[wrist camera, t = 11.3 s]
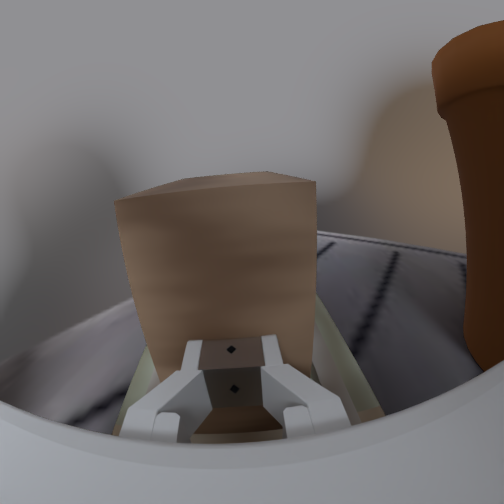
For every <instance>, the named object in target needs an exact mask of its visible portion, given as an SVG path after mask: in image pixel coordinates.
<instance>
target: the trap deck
mask: <svg viewBox="0 0 504 504" xmlns="http://www.w3.org/2000/svg"><path fill="white" fill-rule="evenodd" d="M310 379H311V380H313V381H315V382H316V383H318V384H319V385H321V386H322V387H324V388H325V389H327V390H329V391H330V392H332V393H333V394H335V395H337V396H338V397H340V399H341V402H342V404H343V406H344V409H345V411H346V414H347V416H348V419H349V421H350V424H351V426H353V425H357V424H361V423H364V422H368V421H371V420H374V419H378V418H381V417H384V416H386V415H385V413H384V412H383V410H382V408H381V406H380V404H379V402H378V400H377V398H376V397H375V395H374V393H373V391H372V389H371V387H370V385H369V384H368V382H367V380H366V378H365V376H364V375H363V373H362V371H361V369H360V367H359V366H358V364H357V362H356V360H355V358H354V357H353V355H352V353H351V351H350V350H349V348H348V346H347V344H346V343H345V341H344V339H343V337H342V336H341V334H340V332H339V330H338V329H337V327H336V325H335V323H334V322H333V320H332V318H331V317H330V315H329V313H328V312H327V310H326V308H325V306H324V305H323V303H322V301H321V300H320V298H319V296H318V295H317V293H316V301H315V322H314V339H313V353H312V365H311V377H310ZM160 383H161V382H160V380H159V377H158V375H157V372H156V369H155V366H154V364H153V361H152V358H151V355H150V352H149V349H148V346H147V345H146V347H145V350H144V352H143V354H142V357H141V359H140V362H139V364H138V366H137V369H136V371H135V374H134V376H133V379H132V381H131V384H130V386H129V389H128V391H127V394H126V397H125V399H124V402H123V405H122V407H121V410H120V413H119V415H118V418H117V421H116V424H115V426H114V429H113V432H112V435H114V436H119V434H120V431H121V428H122V425H123V422H124V419H125V416H126V413H127V410H128V408H129V407H131V406H132V405H133V404H134V403H136V402H137V401H138V400H140V399H141V398H142V397H144V396H145V395H146V394H147V393H149V392H150V391H151V390H153V389H154V388H155V387H156V386H158V385H159V384H160ZM282 432H283V429H278V430H269V431H259V432H247V433H228V434H193V435H192V436H191V437H190V440H191V442H192V443H193V444H227V443H247V442H260V441H270V440H279V439H282Z"/></svg>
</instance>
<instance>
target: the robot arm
mask: <svg viewBox="0 0 504 504" xmlns="http://www.w3.org/2000/svg"><path fill="white" fill-rule="evenodd" d="M258 405H263V407H264V408H265V409H266V410H267V411H268V412H269V413H270V414H271V415H272V416H273V417H274V418H275V419H276V420H277V421H278V422H279V423H280V424H281V425H282V426H283V432H282V439H279V440H270V441H260V442H247V443H227V444H193V443H192V442H191V440H190V437H191V436H192V435H193V433H194V432H195V431H196V430H197V428H198V427H199V426H200V425H201V423H202V422H203V421H204V420H205V418H206V417H207V416H208V415H209V413H210V412H211V411H212V408H225V407H239V406H258ZM0 504H504V360H503V361H502V362H500V363H498V364H497V365H495V366H494V367H492V368H490V369H489V370H487V371H485V372H484V373H482V374H480V375H478V376H477V377H475V378H473V379H471V380H469V381H467V382H465V383H464V384H462V385H460V386H458V387H456V388H454V389H452V390H450V391H447V392H445V393H443V394H441V395H439V396H437V397H434V398H432V399H430V400H427V401H425V402H422V403H420V404H417V405H415V406H412V407H410V408H407V409H404V410H402V411H399V412H396V413H393V414H390V415H387V416H384V417H381V418H378V419H374V420H371V421H368V422H364V423H361V424H357V425H353V426H351V424H350V421H349V419H348V416H347V414H346V411H345V409H344V406H343V404H342V402H341V399H340V397H338V396H337V395H335V394H333V393H332V392H330V391H329V390H327V389H325V388H324V387H322V386H321V385H319V384H318V383H316V382H315V381H313V380H311V379H310V378H308V377H307V376H305V375H304V374H302V373H301V372H299V371H298V370H296V369H295V368H293V367H292V366H291V365H289V364H283V360H282V356H281V352H280V348H279V343H278V339H277V335H276V334H272V335H264V336H259V337H249V338H237V339H210V340H189V341H188V342H187V345H186V349H185V353H184V357H183V362H182V366H181V371H175V372H174V373H173V374H172V375H170V376H169V377H168V378H167V379H165V380H164V381H163V382H161V383H160V384H159V385H158V386H156V387H155V388H154V389H153V390H151V391H150V392H149V393H147V394H146V395H145V396H144V397H142V398H141V399H140V400H138V401H137V402H136V403H134V404H133V405H132V406H131V407H129V408H128V410H127V413H126V416H125V419H124V422H123V425H122V428H121V431H120V434H119V436H114V435H109V434H104V433H99V432H94V431H90V430H85V429H81V428H77V427H73V426H70V425H66V424H63V423H59V422H56V421H53V420H50V419H47V418H44V417H41V416H38V415H35V414H32V413H29V412H27V411H24V410H22V409H19V408H17V407H14V406H12V405H10V404H7V403H5V402H3V401H1V400H0Z"/></svg>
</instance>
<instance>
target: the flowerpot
mask: <svg viewBox="0 0 504 504" xmlns="http://www.w3.org/2000/svg"><path fill="white" fill-rule="evenodd" d="M432 77H433V83H434V89H435V96H436V102H437V111H438V113H439V115H440V116H441V118H443V119H444V120H446V122H447V125H448V129H449V133H450V136H451V140H452V144H453V149H454V153H455V158H456V162H457V167H458V173H459V178H460V185H461V191H462V199H463V206H464V217H465V229H466V247H467V283H466V302H465V314H464V324H463V331H464V338H465V341H466V344H467V347H468V349H469V351H470V353H471V354H472V356H473V358H474V359H475V361H476V362H477V363H478V365H479V366H480V367H481V368H482V370H483V371H484V372H485V371H487V370H489V369H490V368H492V367H494V366H495V365H497V364H498V363H500V362H502V361H503V360H504V20H503V21H498V22H493V23H489V24H485V25H481V26H478V27H475V28H473V29H471V30H469V31H467V32H465V33H463V34H461V35H459V36H457V37H455V38H453V39H452V40H451V41H449V43H447V44H446V45H445V46H444V47H442V48H441V49H440V50H439V51H438V53H437V54H436V56H435V58H434V60H433V61H432Z"/></svg>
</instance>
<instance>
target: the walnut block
mask: <svg viewBox="0 0 504 504" xmlns="http://www.w3.org/2000/svg"><path fill="white" fill-rule="evenodd" d="M114 205H115V211H116V217H117V223H118V229H119V235H120V241H121V246H122V251H123V256H124V261H125V265H126V270H127V274H128V278H129V283H130V287H131V291H132V295H133V299H134V302H135V306H136V310H137V313H138V317H139V320H140V324H141V327H142V330H143V334H144V337H145V340H146V343H147V346H148V349H149V352H150V355H151V358H152V361H153V364H154V366H155V369H156V372H157V375H158V377H159V380H160V382H163V381H164V380H165V379H167V378H168V377H169V376H170V375H172V374H173V373H174V372H175V371H181V366H182V362H183V357H184V353H185V349H186V345H187V342H188V341H189V340H210V339H237V338H249V337H259V336H264V335H272V334H276V335H277V339H278V343H279V348H280V352H281V356H282V360H283V364H289V365H291V366H292V367H293V368H295V369H296V370H298V371H299V372H301V373H302V374H304V375H305V376H307V377H308V378H310V377H311V365H312V353H313V339H314V322H315V301H316V268H317V207H316V182H315V181H311V180H307V179H302V178H297V177H292V176H288V175H283V174H278V173H273V172H268V171H266V172H250V173H237V174H225V175H214V176H204V177H195V178H186V179H181V180H178V181H174V182H171V183H167V184H164V185H161V186H157V187H154V188H151V189H148V190H145V191H142V192H139V193H135V194H132V195H129V196H127V197H123V198H121V199H118V200H115V201H114ZM278 429H283V426H282V425H281V424H280V423H279V422H278V421H277V420H276V419H275V418H274V417H273V416H272V415H271V414H270V413H269V412H268V411H267V410H266V409H265V408H264V407H263V405H258V406H239V407H225V408H212V411H211V412H210V413H209V415H208V416H207V417H206V418H205V420H204V421H203V422H202V423H201V425H200V426H199V427H198V428H197V430H196V431H195V432H194V433H193V434H228V433H247V432H259V431H269V430H278Z"/></svg>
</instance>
